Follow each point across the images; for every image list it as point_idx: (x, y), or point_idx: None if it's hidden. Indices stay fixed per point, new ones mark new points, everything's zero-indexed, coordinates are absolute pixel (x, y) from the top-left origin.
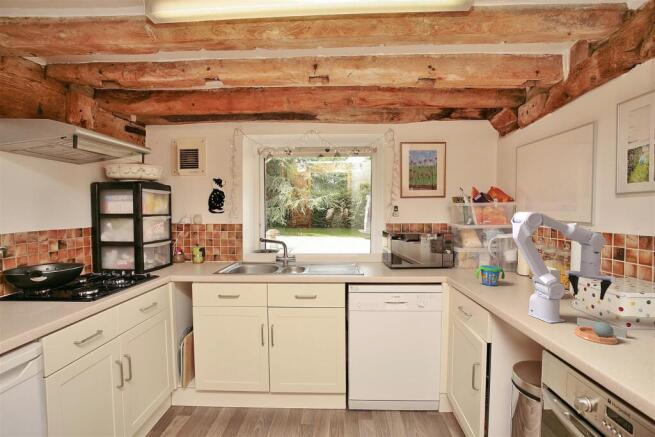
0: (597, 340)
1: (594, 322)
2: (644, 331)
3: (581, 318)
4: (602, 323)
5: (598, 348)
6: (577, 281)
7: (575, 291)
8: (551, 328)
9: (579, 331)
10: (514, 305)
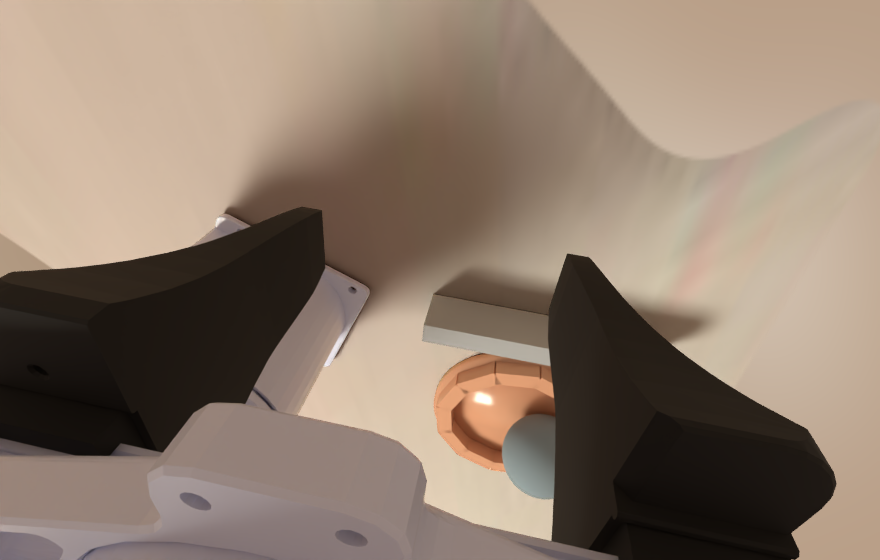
0: None
1: (509, 357)
2: (860, 123)
3: (442, 332)
4: (537, 497)
5: (519, 492)
6: (208, 334)
7: (299, 301)
8: (356, 409)
9: (454, 449)
10: (41, 156)
